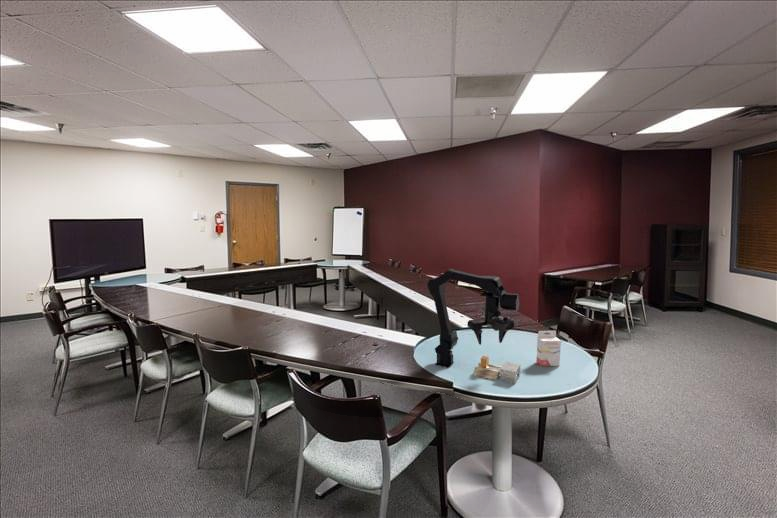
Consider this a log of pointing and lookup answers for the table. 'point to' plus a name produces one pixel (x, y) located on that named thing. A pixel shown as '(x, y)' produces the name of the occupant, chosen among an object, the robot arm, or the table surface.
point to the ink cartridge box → (548, 349)
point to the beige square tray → (486, 372)
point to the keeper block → (510, 372)
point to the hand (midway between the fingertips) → (490, 343)
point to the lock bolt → (486, 363)
